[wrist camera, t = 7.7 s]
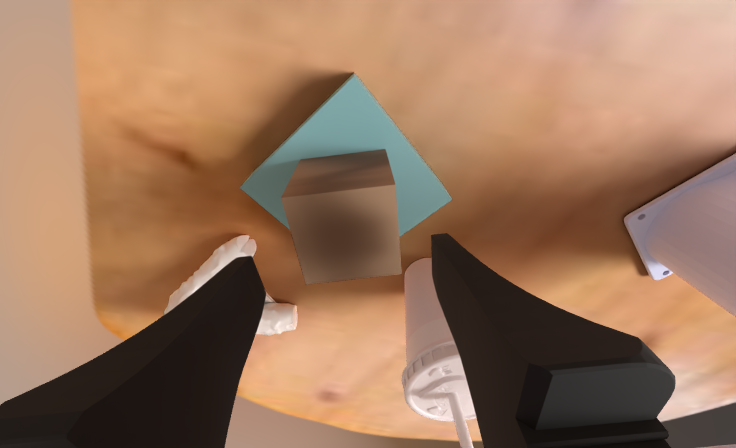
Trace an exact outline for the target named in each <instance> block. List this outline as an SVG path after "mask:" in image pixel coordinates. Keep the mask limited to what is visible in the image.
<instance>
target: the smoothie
mask: <svg viewBox="0 0 736 448" xmlns="http://www.w3.org/2000/svg"><path fill="white" fill-rule="evenodd" d="M404 286H405V327H406V365H407V366H406V367H405V369H404V371H403V375H402V384H403V388H404V394H405V400H406V402H407V404H408V405H409V407H410V408H411V409H412V410H413V411H415V412H416V413H418V414H420V415H421V416H424V417H427V418H429V419H434V420H439V421H454V422H455V426H456V430H457V434H458V438H459V441H460V445H461V448H473V445H472V441H471V438H470V434H469V431H468V427H467V424H466V420H469V419H474V418H477V417H476V413H475V410H474V406H473V402H472V398H471V395H470V391H469V387H468V383H467V380H466V376H465V373H464V369H463V365H462V362H461V358H460V355H459V352H458V350H457V347H456V344H455V342H454V339H453V336H452V334H451V331H450V329H449V326H448V324H447V321H446V319H445V316H444V313H443V311H442V308H441V306H440V303H439V300H438V298H437V294H436V290H435V286H434V282H433V278H432V258H422V259H419V260H417V261H415V262H413V263H412V264H411V265H410V266H409V267H408V268H407V270H406V272H405V275H404Z"/></svg>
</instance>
